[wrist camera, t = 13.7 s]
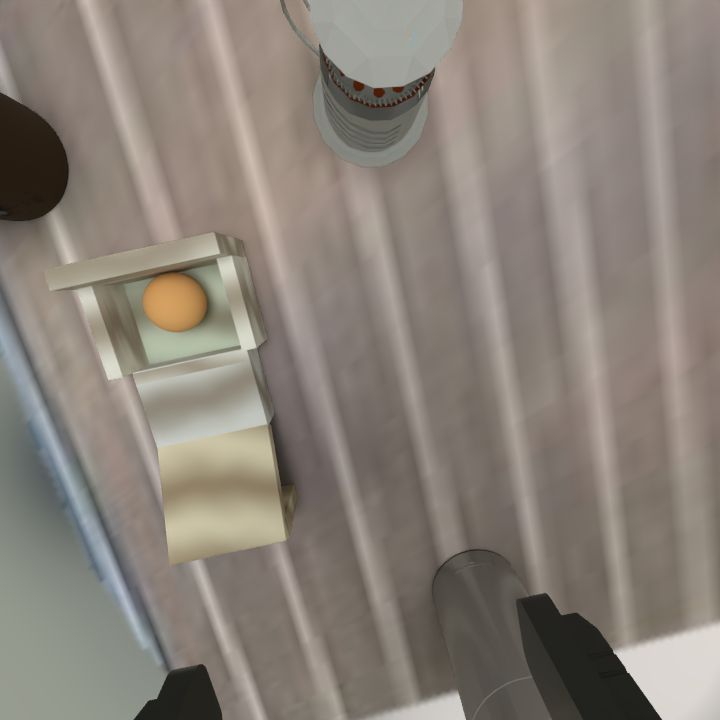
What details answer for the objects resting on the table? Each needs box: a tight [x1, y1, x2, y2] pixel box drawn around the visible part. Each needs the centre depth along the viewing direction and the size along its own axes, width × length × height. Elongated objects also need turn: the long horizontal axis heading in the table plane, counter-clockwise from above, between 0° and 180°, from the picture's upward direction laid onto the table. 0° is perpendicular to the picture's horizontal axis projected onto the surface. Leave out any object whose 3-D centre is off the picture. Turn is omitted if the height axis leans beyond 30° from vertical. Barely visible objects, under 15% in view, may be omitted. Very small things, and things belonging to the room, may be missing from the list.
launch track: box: [43, 232, 297, 565], centre depth 36 cm, size 26×12×8 cm, turn 12°
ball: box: [143, 272, 207, 332], centre depth 35 cm, size 5×5×5 cm
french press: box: [280, 0, 463, 167], centre depth 23 cm, size 10×12×25 cm
